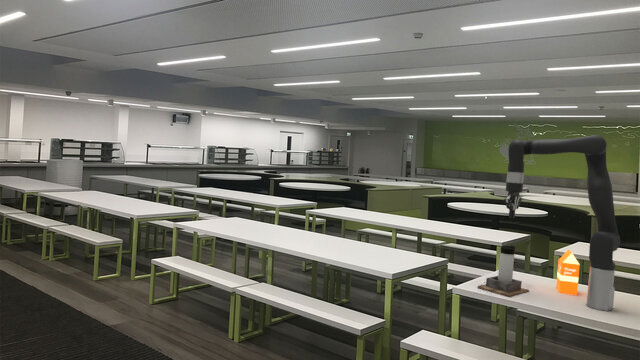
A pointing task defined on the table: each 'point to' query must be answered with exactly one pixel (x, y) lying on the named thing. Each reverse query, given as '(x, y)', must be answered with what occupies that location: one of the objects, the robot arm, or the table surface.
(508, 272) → the travel mug
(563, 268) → the orange juice
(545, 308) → the table surface
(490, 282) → the grey tray on board
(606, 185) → the robot arm
